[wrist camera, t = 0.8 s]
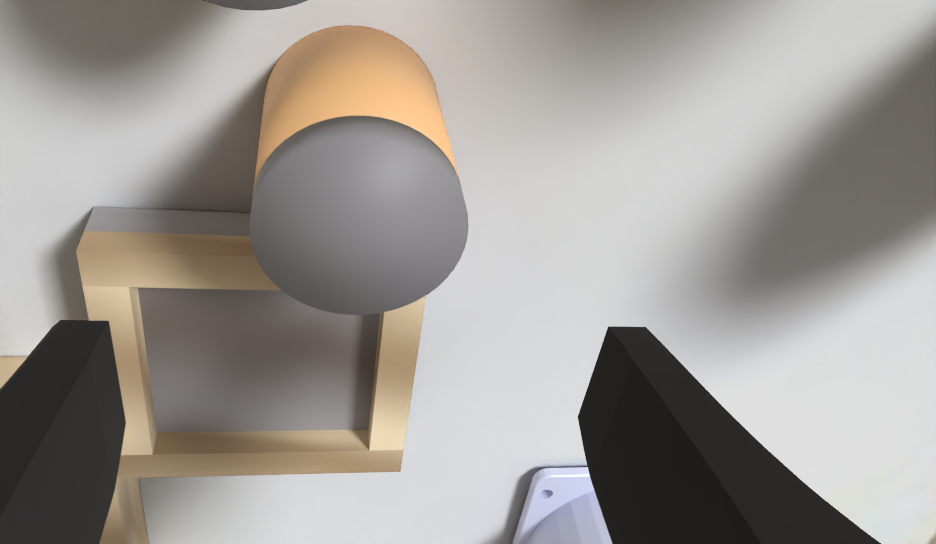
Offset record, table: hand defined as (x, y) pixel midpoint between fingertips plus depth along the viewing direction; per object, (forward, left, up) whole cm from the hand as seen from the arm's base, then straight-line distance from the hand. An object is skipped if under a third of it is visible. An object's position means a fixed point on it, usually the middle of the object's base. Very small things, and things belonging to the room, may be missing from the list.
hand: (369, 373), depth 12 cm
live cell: (0, 0, -9) cm, 9 cm away
